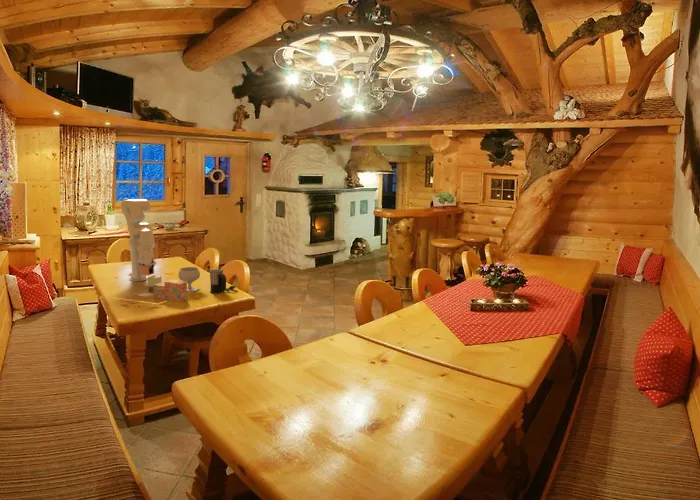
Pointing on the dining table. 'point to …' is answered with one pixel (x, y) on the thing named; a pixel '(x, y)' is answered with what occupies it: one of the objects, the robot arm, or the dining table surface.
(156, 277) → the sage block
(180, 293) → the stack of blocks
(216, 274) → the milk frother
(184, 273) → the chalice
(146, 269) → the terracotta block
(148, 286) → the walnut block
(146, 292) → the board
